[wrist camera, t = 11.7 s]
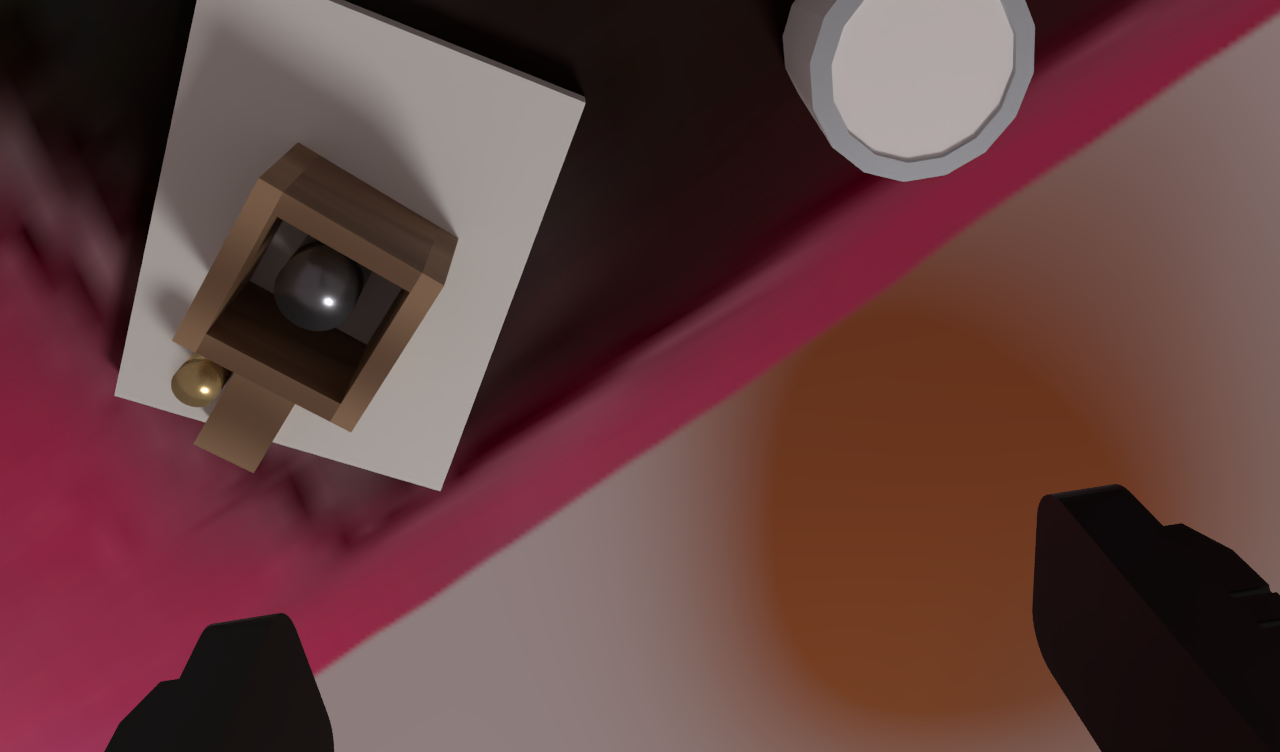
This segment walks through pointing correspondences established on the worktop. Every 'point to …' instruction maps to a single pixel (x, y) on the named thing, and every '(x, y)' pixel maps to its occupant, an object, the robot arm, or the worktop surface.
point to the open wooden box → (283, 352)
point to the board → (378, 155)
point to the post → (319, 286)
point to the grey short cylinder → (910, 78)
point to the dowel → (199, 381)
